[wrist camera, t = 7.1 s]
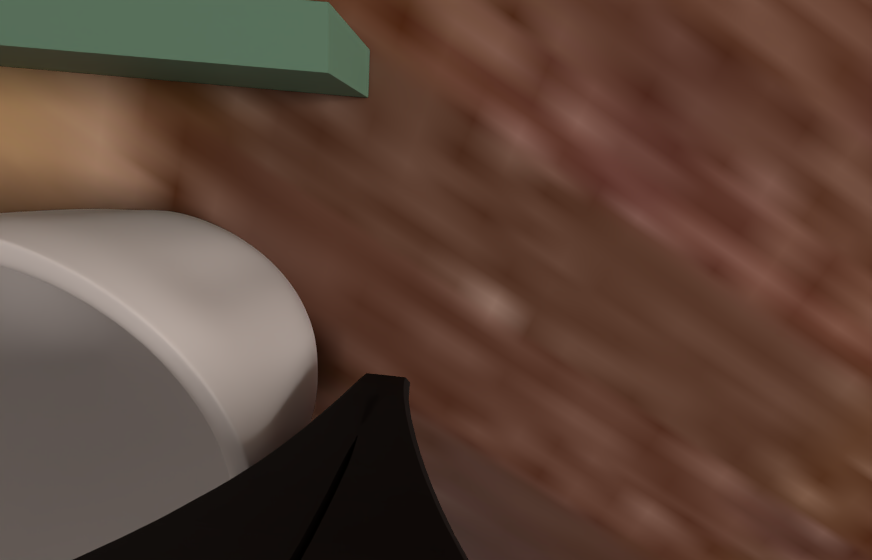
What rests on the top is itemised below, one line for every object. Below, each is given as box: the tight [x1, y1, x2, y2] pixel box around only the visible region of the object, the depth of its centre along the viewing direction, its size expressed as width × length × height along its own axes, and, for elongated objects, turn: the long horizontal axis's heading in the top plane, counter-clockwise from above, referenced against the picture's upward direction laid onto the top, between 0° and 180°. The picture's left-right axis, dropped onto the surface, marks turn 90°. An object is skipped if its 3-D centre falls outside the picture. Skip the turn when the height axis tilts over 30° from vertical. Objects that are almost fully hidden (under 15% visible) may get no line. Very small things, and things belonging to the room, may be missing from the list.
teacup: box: [0, 209, 318, 560], centre depth 9 cm, size 10×8×5 cm
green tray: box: [0, 0, 370, 98], centre depth 9 cm, size 16×12×6 cm
